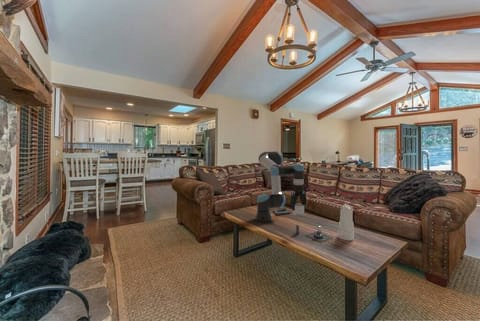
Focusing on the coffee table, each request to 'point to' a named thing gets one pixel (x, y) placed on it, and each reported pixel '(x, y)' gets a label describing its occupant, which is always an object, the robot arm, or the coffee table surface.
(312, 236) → the square peg base
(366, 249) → the coffee table surface
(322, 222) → the coffee table surface
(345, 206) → the decorative vase
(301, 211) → the grey octagonal holder
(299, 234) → the stand
